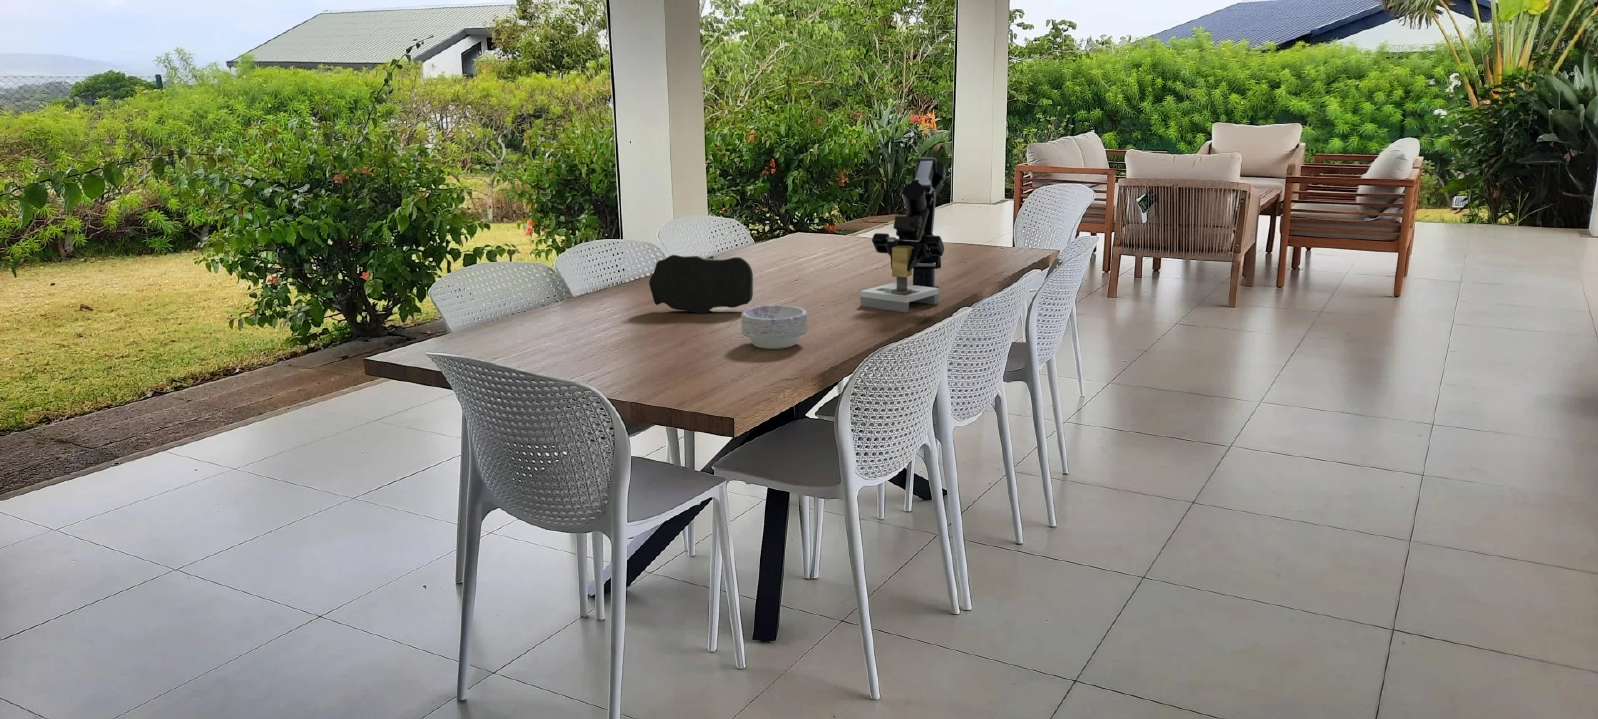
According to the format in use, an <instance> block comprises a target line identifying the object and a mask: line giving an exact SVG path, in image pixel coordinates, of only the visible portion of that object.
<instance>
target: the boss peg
mask: <svg viewBox="0 0 1598 719" xmlns="http://www.w3.org/2000/svg"><path fill="white" fill-rule="evenodd" d="M911 255H912V246H895V247H893V248H892V269H891V277H893V278H896V283H897V289H892V290H891V294H897V295H909V294H913V290H912V289H907V284H908V278H909V277H911V276H913V269H912V270H910V271H909V272H908V271H907V267H908V263H909V260H910V258H911Z"/></svg>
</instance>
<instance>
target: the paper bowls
mask: <svg viewBox="0 0 1598 719" xmlns="http://www.w3.org/2000/svg"><path fill="white" fill-rule="evenodd" d="M740 317H741V333H742V335H743V336H744V337H747V338H749V339H750V341H751V344H753V345H754V346H755V347H756V348H760V349H764V350H765V349H766V350H781V349H787V348H791V347H793V346H796V344H797V343H798V342H799V339H800V338H801V336H803V335H805V334H806V333H808V330H809V329H808V311H807V310H806V309H804V308H802V307H799V306H794V305H792V306H791V305H783V304H782V305H779V304H773V305H772V304H770V305H762V306H761V305H760V306H755V307H750V308H747V309H744V310H743V311H742V312H741V314H740Z"/></svg>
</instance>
